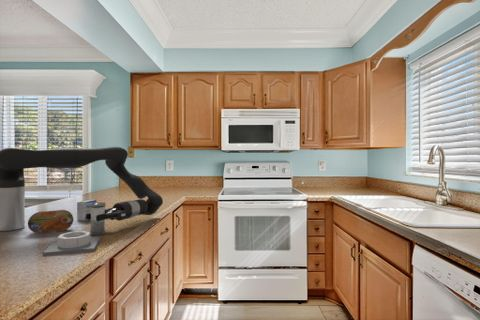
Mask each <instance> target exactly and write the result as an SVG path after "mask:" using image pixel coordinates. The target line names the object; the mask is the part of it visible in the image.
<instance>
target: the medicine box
mask: <svg viewBox="0 0 480 320" xmlns="http://www.w3.org/2000/svg"><path fill="white" fill-rule="evenodd" d="M96 202H98V201H97V199H87V200H86V199H85V200H82V201H77V203H76V220H77V221H88V220H87V219H86V214H88V213H90V203H96Z"/></svg>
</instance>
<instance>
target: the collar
mask: <svg viewBox="0 0 480 320" xmlns="http://www.w3.org/2000/svg"><path fill="white" fill-rule="evenodd" d="M101 236H102V235H101ZM101 236H91V235H90V231H86V230H77V231H69V232H65V233H60V234H59V235H58V236H57V238H56V239H55V240H54V241H53V242H52V243H51V244H50V245H49V246H48V247H46V249H45V250H44V251H43V252H42V256H44V257H45V256H53V255H54V256H56V255H67V254H78V253H89V252H95V251H96V248H97V247H98V245H99V243H100V241H101Z"/></svg>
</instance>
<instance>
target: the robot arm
mask: <svg viewBox="0 0 480 320" xmlns="http://www.w3.org/2000/svg"><path fill="white" fill-rule="evenodd" d="M128 155H129V153H128V151H127V150H126V148H123V147H121V146H108V147H107V146H106V147H92V148H91V147H90V148H88V147H87V148H86V147H85V148H83V147H82V148H76V147H60V148H49V149H26V148H24V149H23V148H18V147H17V148H16V147H5V148H2V149H1V150H0V232H8V231H9V232H11V231H16V230H20V229H23V228H25V227H26V226H25V225H26V224H25V222H26V220H25V217H26V214H25V211H26V210H25V206H26V204H25V203H26V202H25V200H26V199H25V198H26V197H25V196H26V195H25V194H26V187H25V186H26V181H25V172H24V171H25V169H34V168H50V169H78V168H82V167H85V166H88V165H90V164H92V163H95V162H98V161H105V165H106V166H107V168H108V169H109V170H110V171H111V172H112V173H114V174H115V175H116V176H117V177H118V178H119V179H120V180H122V181H123V182H124V183H125V184H126V185H127V187H128V188H129V189H130V190H131V191H132V193H133V194H134V195H135V196H136V198H137V199H134V200H126V201H120V202H116V203H115V204H113V206H112V207H108V208H105V214H100V215H97V216H96V221H101V220H105V221H106V220H107V221H108V220H111V221H113V220H115V221H118V222H120V221H123V220H128V219H131V218H135V217H136V216H141V215H142V216H152V215H154V214H155V213H156V212H157V211H158V210H159V209H160V207H161V206H162V205H163V203H164V200H163V197H162V196H161V195H160V194H159V193H158V192H156V191H154V190H153V189H151V188H150V187H149V186H148V185H147V184H146V182H145V181H144V180H143V179H142V178H141V177H140V176H137V175H136V174H133V173H131V172H130V171H129V170H128V169H127V168H126V167H125V163H126V161H127V159H128ZM146 197H147V199H146V200H145V199H144V198H146ZM86 219H87V220H86V221H88V220H89V221H90V213H88V214H86Z"/></svg>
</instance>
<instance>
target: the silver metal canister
mask: <svg viewBox="0 0 480 320" xmlns="http://www.w3.org/2000/svg"><path fill="white" fill-rule="evenodd" d="M106 205H107V204H106V202H103V201H102V202H99V201H97V202H96V203H90V219H89V221H90V225H89V227H90V229H89V232H90V237H97V236H103V235H106V230H105V229H106V219H105V220H101V221H96V216H97V215H100V214H105V209H106Z"/></svg>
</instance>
